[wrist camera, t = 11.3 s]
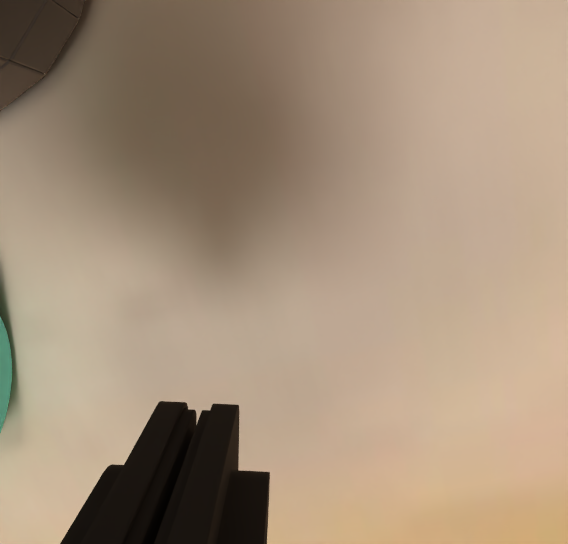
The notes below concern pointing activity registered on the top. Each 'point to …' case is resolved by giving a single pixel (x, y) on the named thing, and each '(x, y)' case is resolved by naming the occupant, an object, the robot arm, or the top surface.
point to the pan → (32, 41)
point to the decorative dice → (4, 372)
